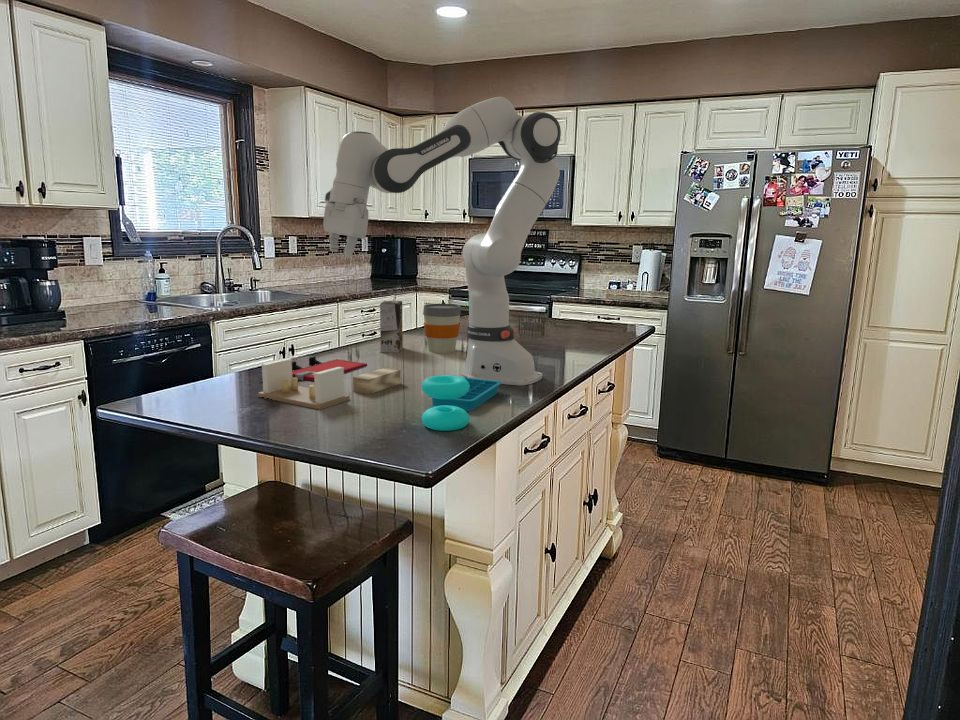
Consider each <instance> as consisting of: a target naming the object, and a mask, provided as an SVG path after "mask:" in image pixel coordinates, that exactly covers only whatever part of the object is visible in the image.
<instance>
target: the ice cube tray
mask: <svg viewBox="0 0 960 720" xmlns="http://www.w3.org/2000/svg"><path fill="white" fill-rule="evenodd" d="M463 378H464V379H466V380H467V381H468V382H469V385H470V388H469V391H468V392H467V393H466V394H465V395H464V396H462V397H459V398H456V399H436V398H432V397H430V396H428V395H427V396H428V397H429V398H430V399H432V407H435V406H442V405H449V406H456V407H459V408H462V409H464V410H465V411H466V412H472V411H473V410H475V409H477V408H478V407H479V406H481V405H482V404H484V403H485V402H487V401H488V400H490V399H491V398H493V397H494V396H495V395H497V394H498V387H499V386H500V385H503V384H502V383H501V382H500V381H492V380H483V379H474V378H467V377H463Z"/></svg>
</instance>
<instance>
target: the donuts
mask: <svg viewBox="0 0 960 720" xmlns="http://www.w3.org/2000/svg"><path fill="white" fill-rule="evenodd" d="M464 378H465V377H462V376H460V375H459V376H458V375H450V374H449V375H448V374H443V375H442V374H441V375H432V376H430V377H429V376H428V377H427V378H425V379H424V380H423V381H422V384H421V389H422V392H423V393H424V394H425V395H426V396H430V397H432V398H436V399H456V398H459V397H462V396H464V395H465V394H466V393H467V392H468V391H469V388H470V385H469V382H468V381H467V380H466V379H464ZM430 397H429V398H430ZM432 398H431V399H432ZM421 421H422V424H423V425H424V426H425V427H426V428H429V429H431V430H434V431H440V432H449V431H457V430H461V429H463V428H465V427H466V426H468V424H469V422H470V415H469V413H468V411H465V410H464V409H462V408H459V407H456V406H449V405H442V406H435V407H434V406H432V407H429V408H428V409H426V410H425V411H424V412H423V413H422V416H421Z"/></svg>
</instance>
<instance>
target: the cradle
mask: <svg viewBox="0 0 960 720" xmlns="http://www.w3.org/2000/svg"><path fill="white" fill-rule="evenodd" d="M292 362H293V360H292V358H288V357H287V358H283V359H278V360H273V361H268V362H264V363H261V373H262V376H261V377H262V378H263V380H262V391H259V392H258V393H257V395H258V396H259V398H262V397H264V398H263V399H267V398H269V399H268V400H271V399H272V400H271V401H276V400H277V401H278V402H282V403H285V404H291V405H296V406H300V407H305V408H311V409H315V410H319V411H321V410H323V409H325V408H330V407H333V406H335V405H337V404H340V403H344V402H346V401H350V395H348V394H345V375H344V374H345V373H344V368H343V367H335V368H332V369H328V370H324V371H320V372H317V373H314V381H313V383H314V384H310V385H308V387H305V386H302V385H299V384H298V383H299V382H298V381H299V380H298V378H292ZM262 378H261V379H262Z"/></svg>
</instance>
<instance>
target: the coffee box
mask: <svg viewBox="0 0 960 720" xmlns="http://www.w3.org/2000/svg"><path fill="white" fill-rule="evenodd" d="M379 318H380V320H379V330H380V334H379V335H380V339H379V340H380V341H379V342H380V343H379V344H380V348H379V349H380V350H379V351H380V353H395V354H398V353H400V352H401V350H402V349H403V301H402V300H383V301H382V302H380V304H379Z"/></svg>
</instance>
